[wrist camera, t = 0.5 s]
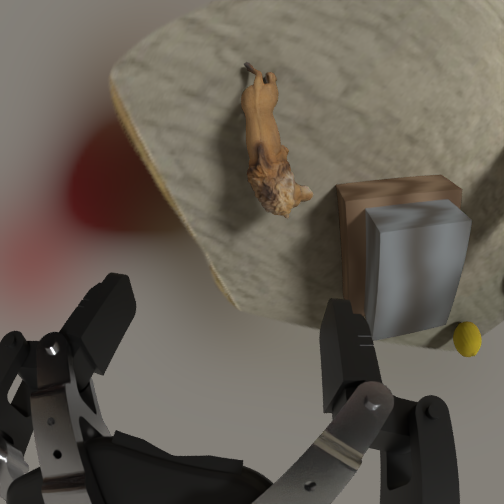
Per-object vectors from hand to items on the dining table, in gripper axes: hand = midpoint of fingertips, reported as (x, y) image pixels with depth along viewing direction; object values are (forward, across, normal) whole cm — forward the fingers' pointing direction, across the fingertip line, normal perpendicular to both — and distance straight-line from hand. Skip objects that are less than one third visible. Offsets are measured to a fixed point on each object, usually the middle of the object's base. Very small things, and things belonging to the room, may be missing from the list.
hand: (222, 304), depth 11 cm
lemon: (+23, -39, +24) cm, 51 cm away
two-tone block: (+22, -17, +8) cm, 29 cm away
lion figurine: (+22, -1, -4) cm, 22 cm away
